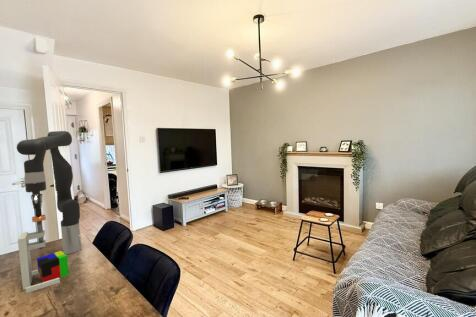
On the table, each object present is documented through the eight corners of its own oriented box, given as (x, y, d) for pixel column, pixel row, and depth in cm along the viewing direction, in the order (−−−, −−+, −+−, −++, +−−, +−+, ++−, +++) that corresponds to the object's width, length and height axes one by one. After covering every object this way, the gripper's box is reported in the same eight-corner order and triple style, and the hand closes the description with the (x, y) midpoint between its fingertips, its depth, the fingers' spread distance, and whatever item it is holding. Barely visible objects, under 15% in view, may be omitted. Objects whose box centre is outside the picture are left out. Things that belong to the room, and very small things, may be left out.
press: (60, 266, 125) (56, 224, 124) (59, 282, 111) (55, 234, 109) (26, 276, 117) (22, 230, 115) (21, 294, 102) (16, 242, 101)
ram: (48, 244, 117) (45, 214, 116) (48, 248, 113) (45, 216, 112) (35, 247, 114) (32, 216, 113) (34, 251, 110) (31, 218, 109)
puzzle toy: (38, 277, 116) (37, 258, 115) (62, 268, 124) (61, 250, 123) (43, 284, 110) (41, 264, 109) (68, 274, 118) (67, 255, 117)
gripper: (26, 180, 114) (30, 214, 115) (22, 184, 103) (26, 221, 105) (46, 178, 118) (49, 211, 120) (44, 181, 108) (47, 217, 109)
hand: (38, 216), depth 112 cm, fingers closed
